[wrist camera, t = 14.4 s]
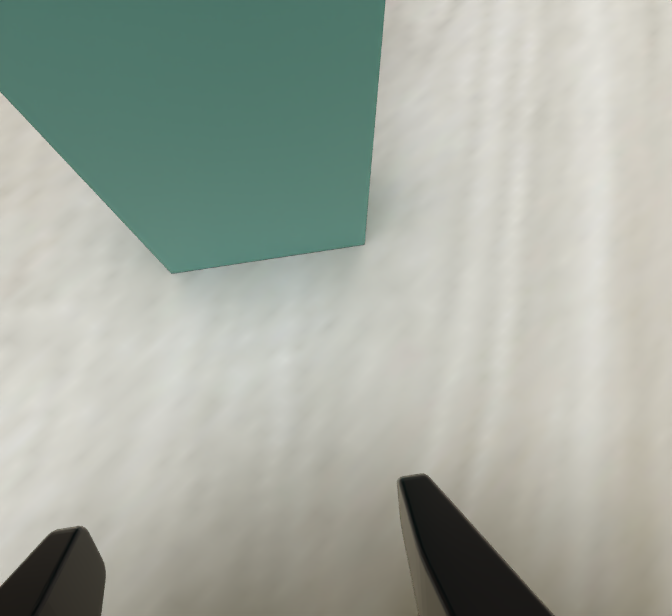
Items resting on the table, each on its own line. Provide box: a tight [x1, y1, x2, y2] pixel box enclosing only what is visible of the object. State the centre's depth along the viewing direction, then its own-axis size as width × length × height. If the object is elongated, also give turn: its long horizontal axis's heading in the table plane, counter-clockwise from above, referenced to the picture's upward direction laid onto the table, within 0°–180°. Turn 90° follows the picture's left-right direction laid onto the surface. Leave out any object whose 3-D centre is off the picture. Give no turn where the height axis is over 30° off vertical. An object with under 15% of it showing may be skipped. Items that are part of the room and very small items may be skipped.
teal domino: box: [0, 0, 385, 274], centre depth 11 cm, size 2×6×14 cm, turn 99°
